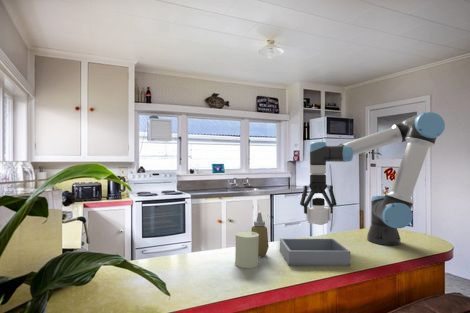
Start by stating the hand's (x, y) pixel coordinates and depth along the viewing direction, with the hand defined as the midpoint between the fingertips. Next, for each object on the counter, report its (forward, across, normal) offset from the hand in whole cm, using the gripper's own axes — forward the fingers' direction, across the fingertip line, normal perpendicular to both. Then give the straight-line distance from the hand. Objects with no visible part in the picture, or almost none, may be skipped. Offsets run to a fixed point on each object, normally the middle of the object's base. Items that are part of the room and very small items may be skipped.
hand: (318, 220), depth 143 cm
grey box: (+12, +9, +19) cm, 24 cm away
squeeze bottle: (+11, +31, +16) cm, 36 cm away
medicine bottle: (+1, 0, 0) cm, 1 cm away
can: (+11, +37, +26) cm, 46 cm away
